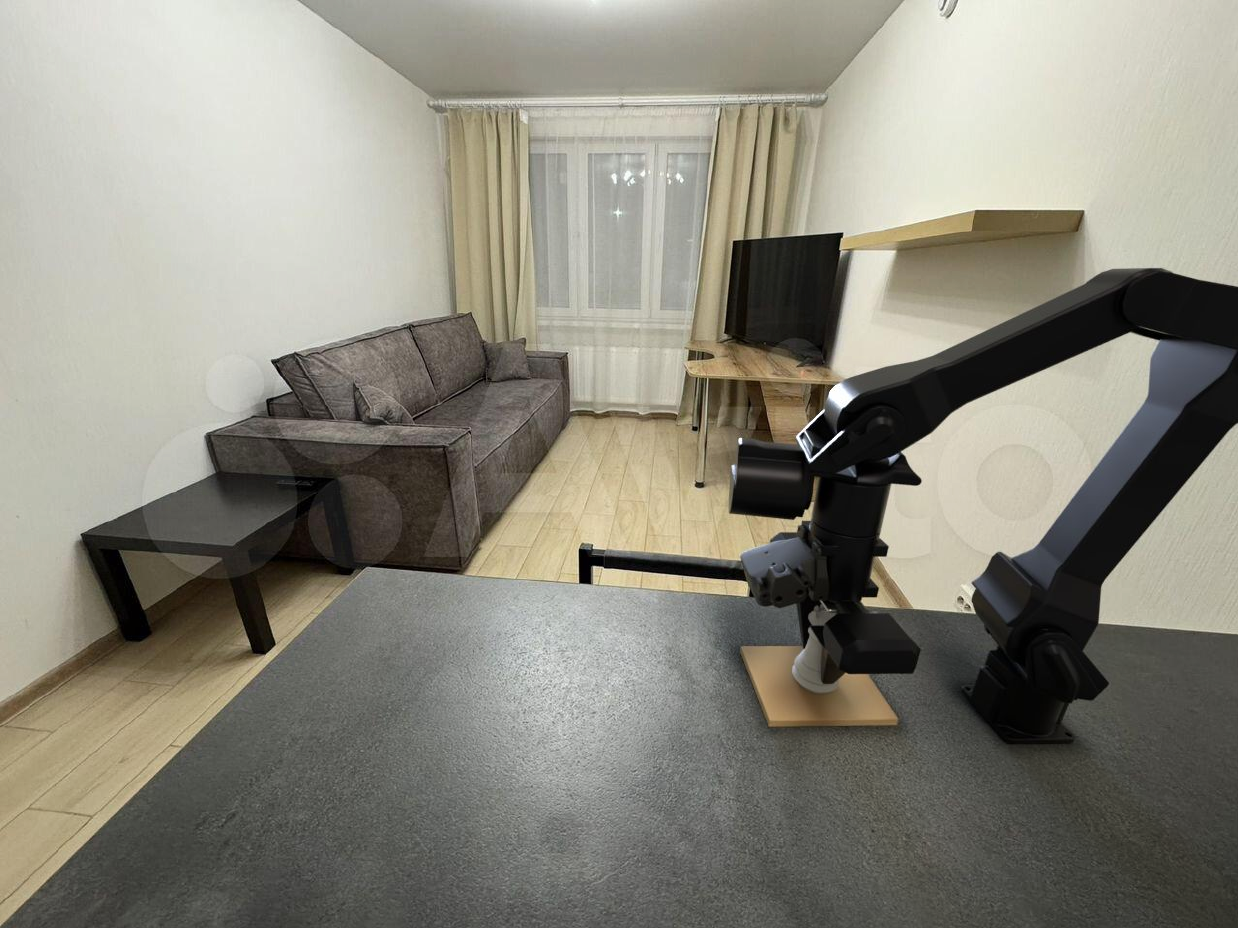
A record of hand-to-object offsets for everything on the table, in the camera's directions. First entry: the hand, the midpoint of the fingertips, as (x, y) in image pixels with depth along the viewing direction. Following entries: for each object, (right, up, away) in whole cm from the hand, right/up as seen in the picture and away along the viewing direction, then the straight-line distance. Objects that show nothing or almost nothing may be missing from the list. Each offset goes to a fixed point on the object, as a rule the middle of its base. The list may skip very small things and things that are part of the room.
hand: (817, 665), depth 51 cm
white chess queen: (0, -2, +1) cm, 2 cm away
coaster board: (0, -2, +1) cm, 3 cm away
